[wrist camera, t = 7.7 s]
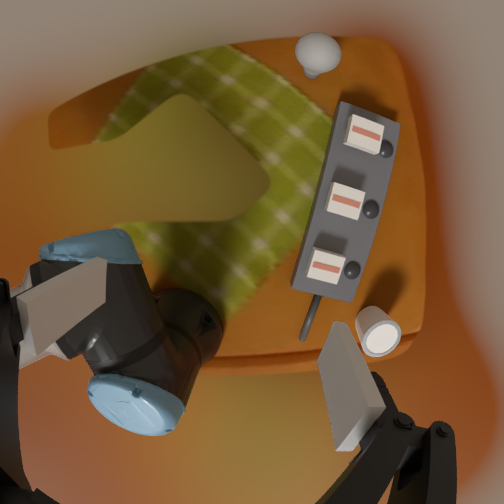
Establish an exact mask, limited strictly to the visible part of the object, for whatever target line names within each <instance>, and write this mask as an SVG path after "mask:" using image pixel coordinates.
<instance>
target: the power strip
mask: <svg viewBox="0 0 504 504" xmlns="http://www.w3.org/2000/svg"><path fill="white" fill-rule="evenodd" d="M352 114H354V115H357V116H360V117H362V118H365V119H368V120H370V121H373V122H375V123H378V124H380V125H383V126H384V131H383V136H382V141H381V146H380V151H379V153H378V154H375V155H373V154H371V153H368V152H365V151H362V150H360V149H357V148H354V147H351V146H348V145H345V144H343V143H344V138H345V134H346V129H347V124H348V120H349V117H350V116H351V115H352ZM400 125H401V124H399V123H396V122H394V121H392V120H390V119H387V118H385V117H383V116H380V115H378V114H375V113H373V112H370V111H368V110H365V109H362V108H360V107H357V106H354V105H351V104H348V103H345V102H343V101H340V102H339V104H338V105H337V106H336V110H335V115H334V119H333V124H332V128H331V133H330V137H329V141H328V145H327V150H326V154H325V158H324V162H323V166H322V170H321V174H320V178H319V182H318V186H317V190H316V193H315V197H314V201H313V205H312V208H311V212H310V216H309V219H308V223H307V227H306V230H305V234H304V237H303V241H302V244H301V248H300V251H299V254H298V258H297V261H296V265H295V268H294V271H293V275H292V278H291V281H290V283H291V289H296V290H300V291H304V292H308V293H312V294H315V295H314V298H313V301H312V304H311V307H310V309H309V312H308V315H307V318H306V320H305V323H304V326H303V329H302V331H301V334H300V336H299V339H300V341H305V340H306V337H307V335H308V332H309V330H310V327H311V324H312V322H313V319H314V316H315V314H316V311H317V308H318V306H319V303H320V300H321V297H322V296H325V297H329V298H333V299H337V300H342V301H346V302H350V303H352V300H353V298H354V295H355V292H356V290H357V287H358V284H359V281H360V279H361V276H362V273H363V270H364V267H365V264H366V261H367V258H368V255H369V252H370V249H371V246H372V243H373V240H374V236H375V233H376V230H377V226H378V223H379V219H380V216H381V212H382V208H383V205H384V201H385V197H386V193H387V189H388V185H389V181H390V176H391V172H392V167H393V163H394V158H395V153H396V148H397V143H398V137H399V131H400ZM331 182H336V183H339V184H342V185H345V186H348V187H351V188H354V189H357V190H360V191H363V192H365V196H364V200H363V203H362V207H361V211H360V214H359V218H358V220H355V219H352V218H348V217H345V216H342V215H339V214H335V213H332V212H329V211H326V210H324V208H325V204H326V200H327V196H328V193H329V189H330V185H331ZM313 247H316V248H320V249H324V250H327V251H331V252H335V253H338V254H342V255H343V256H344V257H345V258H346V259H345V262H344V265H343V268H342V271H341V274H340V277H339V280H338V283H337V284H333V283H329V282H325V281H321V280H317V279H313V278H309V277H307V276H306V274H305V271H306V268H307V265H308V262H309V259H310V255H311V252H312V249H313Z"/></svg>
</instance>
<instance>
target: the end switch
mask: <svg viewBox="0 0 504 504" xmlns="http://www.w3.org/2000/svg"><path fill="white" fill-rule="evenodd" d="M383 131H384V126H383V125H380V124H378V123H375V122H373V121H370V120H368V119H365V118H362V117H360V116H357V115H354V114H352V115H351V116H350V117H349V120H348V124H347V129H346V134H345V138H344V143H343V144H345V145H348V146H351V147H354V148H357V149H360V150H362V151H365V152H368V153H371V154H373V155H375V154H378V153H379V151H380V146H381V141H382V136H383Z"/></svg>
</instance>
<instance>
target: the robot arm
mask: <svg viewBox="0 0 504 504" xmlns="http://www.w3.org/2000/svg"><path fill="white" fill-rule="evenodd" d="M39 258H40V259H41V261H39V262H37V263H35V264H32V265H30V266H29V267H28V269H27V272H26V274H25V277H24V280H23V282H22V284H21V285H19V286H17V287H15V288H13V289H11V290H10V289H9V282H8V281H7V280H6V279H3V278H0V504H59V503H58V502H56V501H55V500H53V499H52V498H50V497H49V496H47V495H46V494H45V493H43V492H42V491H40V490H39V489H38V488H36V490H35V491H34V492H33V491H32V489H31V486H30V484H29V482H28V480H27V478H26V476H25V473H24V470H23V465H22V458H21V450H20V441H19V428H18V373H19V369H20V368H22V367H24V366H26V365H28V364H30V363H32V362H35V361H37V360H39V359H41V358H43V357H45V356H47V355H49V354H53V355H56V356H58V357H61V358H63V359H65V360H70V359H72V358H74V357H76V356H78V355H81V354H82V355H83V356H84V358H85V359H86V361H87V363H88V365H89V367H90V368H91V370H92V372H93V374H94V376H93V377H91V379H90V380H89V385H88V396H89V398H90V400H91V402H92V404H93V405H94V406H95V408H96V409H97V410H98V411H99V412H100V413H101V414H102V415H103V416H105V417H106V418H107V419H109V420H110V421H111V422H113V423H115V424H116V425H118V426H120V427H122V428H124V429H126V430H128V431H131V432H134V433H137V434H141V435H148V436H159V435H164V434H167V433H169V432H171V431H172V430H173V429H174V428H175V427H176V426H177V424H178V422H179V420H180V418H181V416H182V415H183V414H184V413H185V407H186V405H187V402H188V399H189V397H190V394H191V391H192V388H193V386H194V383H195V380H196V377H197V375H198V373H199V370H200V368H201V367H203V366H204V365H205V364H206V363H207V362H209V361H210V360H211V359H212V358H213V357H214V356H215V354H216V353H217V351H218V349H219V347H220V344H221V341H222V336H223V328H222V323H221V320H220V317H219V315H218V313H217V312H216V310H215V309H214V308H213V306H212V305H211V304H210V303H209V302H208V301H207V300H205V299H204V298H203V297H201V296H200V295H198V294H196V293H194V292H192V291H189V290H185V289H179V288H171V289H166V290H162V291H160V292H158V293H156V294H155V295H154V296H153V294H152V291H151V289H150V286H149V284H148V281H147V278H146V276H145V273H144V270H143V267H142V265H141V264H143V263H142V260H140V259H139V257H138V254H137V252H136V249H135V247H134V244H133V242H132V239H131V237H130V235H129V234H128V233H127V232H126V231H124V230H122V229H117V228H113V229H105V230H99V231H94V232H89V233H84V234H80V235H76V236H72V237H68V238H64V239H61V240H58V241H56V242H52V243H50V244H45V245H43V246H41V247H40V249H39ZM317 362H318V367H319V371H320V376H321V380H322V385H323V389H324V394H325V399H326V404H327V409H328V414H329V419H330V424H331V429H332V434H333V440H334V444H335V450H336V451H353V449H354V448H355V447H356V446H357V445H358V443H359V444H360V447H361V450H360V452H359V453H358V454H357V455H356V456H355V457H354V458H353V460H351V462H350V463H349V466H348V467H347V468H346V470H345V471H344V472H343V473H342V474H341V476H340V477H339V478H338V479H337V480H336V481H335V483H334V484H333V485H332V486H331V487H330V488H329V490H327V492H326V493H325V494H324V495H323V496H322V497H321V498H320V499H319V500H318V501H317V502H316V503H315V504H377V503H378V502H379V500H380V498H381V497H382V495H383V493H384V492H385V490H386V488H387V487H388V485H389V483H390V481H391V479H392V478H393V476H394V478H393V483H392V487H391V491H390V495H389V499H388V503H387V504H456V493H457V490H456V489H457V466H456V447H455V436H454V435H455V434H454V431H453V429H452V428H451V426H450V425H448V424H447V423H445V422H442V421H435V422H433V423H432V425H431V426H430V427H429V428H428V429H427V428H422V427H418V426H416V425H415V423H414V421H413V419H412V418H411V417H410V416H408V415H407V414H405V413H402V412H398V409H397V407H396V405H395V403H394V401H393V399H392V397H391V395H390V394H389V391H388V389H387V388H386V384H385V382H384V381H383V379H382V378H381V377H380V376H379V375H378V374H377V373H376V372H371V371H370V370H369V368H368V366H367V364H366V362H365V360H364V358H363V355H362V353H361V351H360V349H359V347H358V345H357V343H356V341H355V339H354V337H353V335H352V333H351V331H350V329H349V327H348V325H347V323H343V322H338V321H334V322H333V325H332V327H331V330H330V332H329V335H328V337H327V339H326V342H325V344H324V346H323V349H322V351H321V353H320V356H319V358H318V360H317Z"/></svg>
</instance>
